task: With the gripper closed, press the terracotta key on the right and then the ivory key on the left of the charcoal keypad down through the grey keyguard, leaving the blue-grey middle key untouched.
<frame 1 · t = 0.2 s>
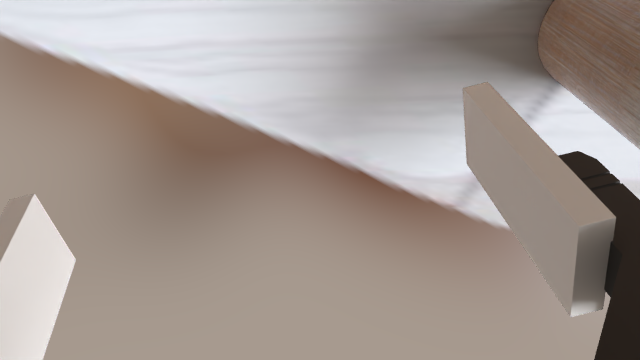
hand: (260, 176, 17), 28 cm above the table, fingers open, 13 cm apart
planter: (592, 26, 46), on the table
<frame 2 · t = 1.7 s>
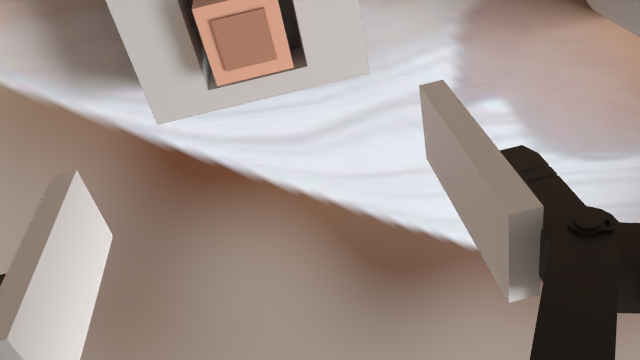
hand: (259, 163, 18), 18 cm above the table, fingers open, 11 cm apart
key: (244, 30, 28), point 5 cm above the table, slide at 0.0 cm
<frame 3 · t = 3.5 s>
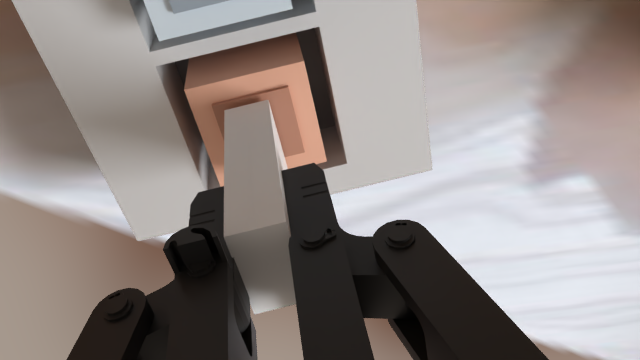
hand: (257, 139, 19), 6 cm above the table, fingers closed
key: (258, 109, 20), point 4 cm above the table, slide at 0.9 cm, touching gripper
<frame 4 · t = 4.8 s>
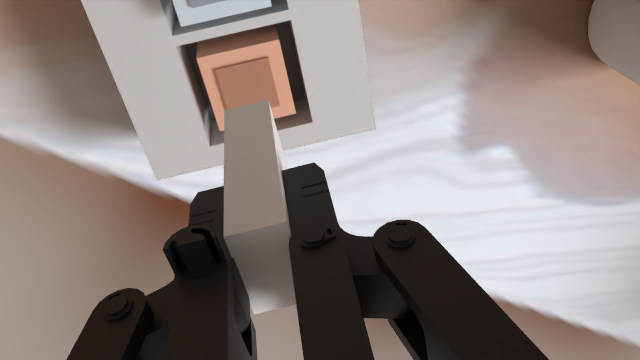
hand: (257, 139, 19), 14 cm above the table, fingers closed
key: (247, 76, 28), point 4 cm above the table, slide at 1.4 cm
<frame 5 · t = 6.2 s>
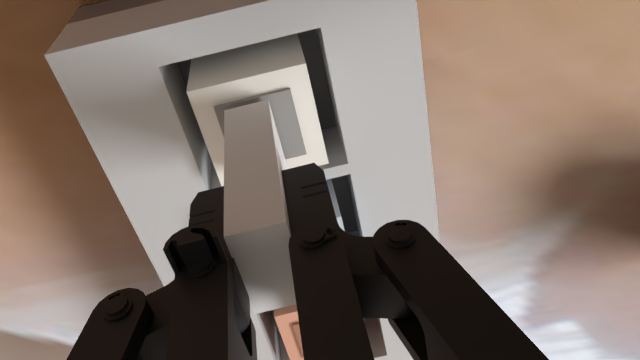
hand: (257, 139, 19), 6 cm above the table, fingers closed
keypad: (287, 176, 27), on the table
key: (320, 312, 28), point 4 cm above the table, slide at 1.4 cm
key mid: (297, 243, 23), point 5 cm above the table, slide at 0.0 cm
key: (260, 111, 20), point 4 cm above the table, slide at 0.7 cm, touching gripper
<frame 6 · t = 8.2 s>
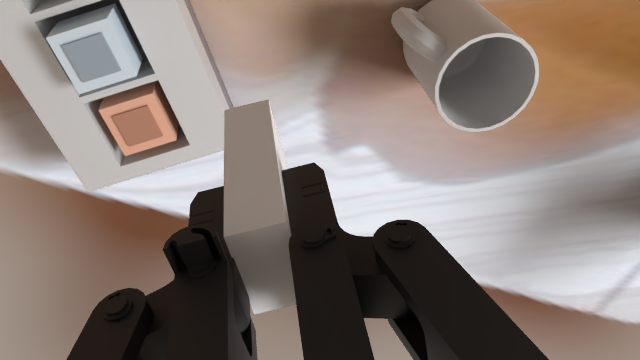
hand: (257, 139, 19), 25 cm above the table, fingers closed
keypad: (110, 23, 40), on the table
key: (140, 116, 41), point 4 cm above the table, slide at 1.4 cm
key mid: (96, 49, 36), point 5 cm above the table, slide at 0.0 cm
cup: (430, 29, 44), on the table
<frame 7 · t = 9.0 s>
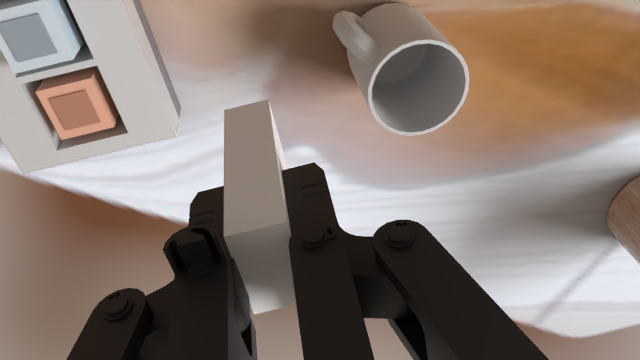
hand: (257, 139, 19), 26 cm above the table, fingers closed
keypad: (54, 7, 41), on the table
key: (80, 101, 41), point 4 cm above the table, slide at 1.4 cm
key mid: (35, 30, 36), point 5 cm above the table, slide at 0.0 cm
cup: (374, 35, 45), on the table
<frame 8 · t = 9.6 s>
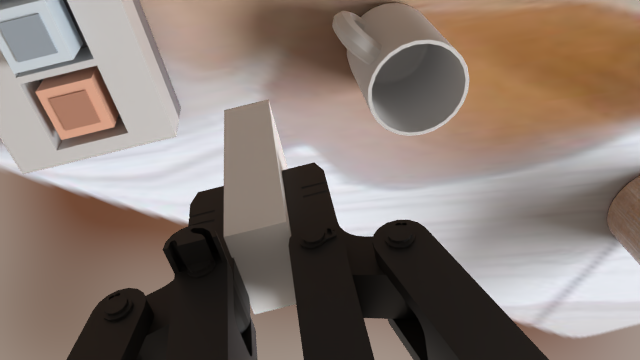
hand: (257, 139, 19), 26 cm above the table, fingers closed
keypad: (54, 7, 41), on the table
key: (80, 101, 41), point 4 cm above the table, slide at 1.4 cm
key mid: (35, 30, 36), point 5 cm above the table, slide at 0.0 cm
cup: (374, 35, 45), on the table
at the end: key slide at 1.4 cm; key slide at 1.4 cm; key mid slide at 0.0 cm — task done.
